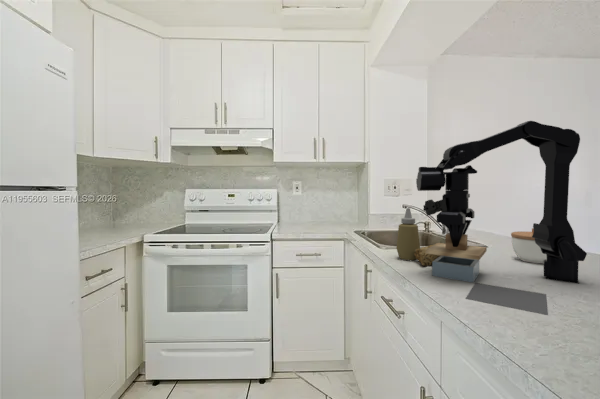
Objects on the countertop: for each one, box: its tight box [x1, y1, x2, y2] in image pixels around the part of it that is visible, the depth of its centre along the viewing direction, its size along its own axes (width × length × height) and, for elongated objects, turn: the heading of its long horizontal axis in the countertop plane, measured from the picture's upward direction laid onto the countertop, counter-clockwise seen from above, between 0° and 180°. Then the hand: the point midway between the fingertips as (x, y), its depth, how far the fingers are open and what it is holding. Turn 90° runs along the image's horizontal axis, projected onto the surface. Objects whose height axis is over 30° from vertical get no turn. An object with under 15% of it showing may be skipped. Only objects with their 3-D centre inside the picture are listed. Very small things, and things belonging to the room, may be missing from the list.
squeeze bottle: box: [396, 207, 421, 261], centre depth 105 cm, size 8×8×18 cm
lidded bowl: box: [510, 227, 547, 264], centre depth 100 cm, size 13×13×11 cm
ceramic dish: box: [431, 255, 480, 283], centre depth 83 cm, size 10×10×4 cm
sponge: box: [415, 244, 441, 267], centre depth 98 cm, size 13×8×20 cm
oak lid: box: [426, 232, 487, 261], centre depth 83 cm, size 13×13×5 cm
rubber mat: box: [465, 282, 549, 316], centre depth 66 cm, size 14×14×1 cm
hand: (456, 245), depth 83 cm, fingers closed on oak lid, 3 cm apart
